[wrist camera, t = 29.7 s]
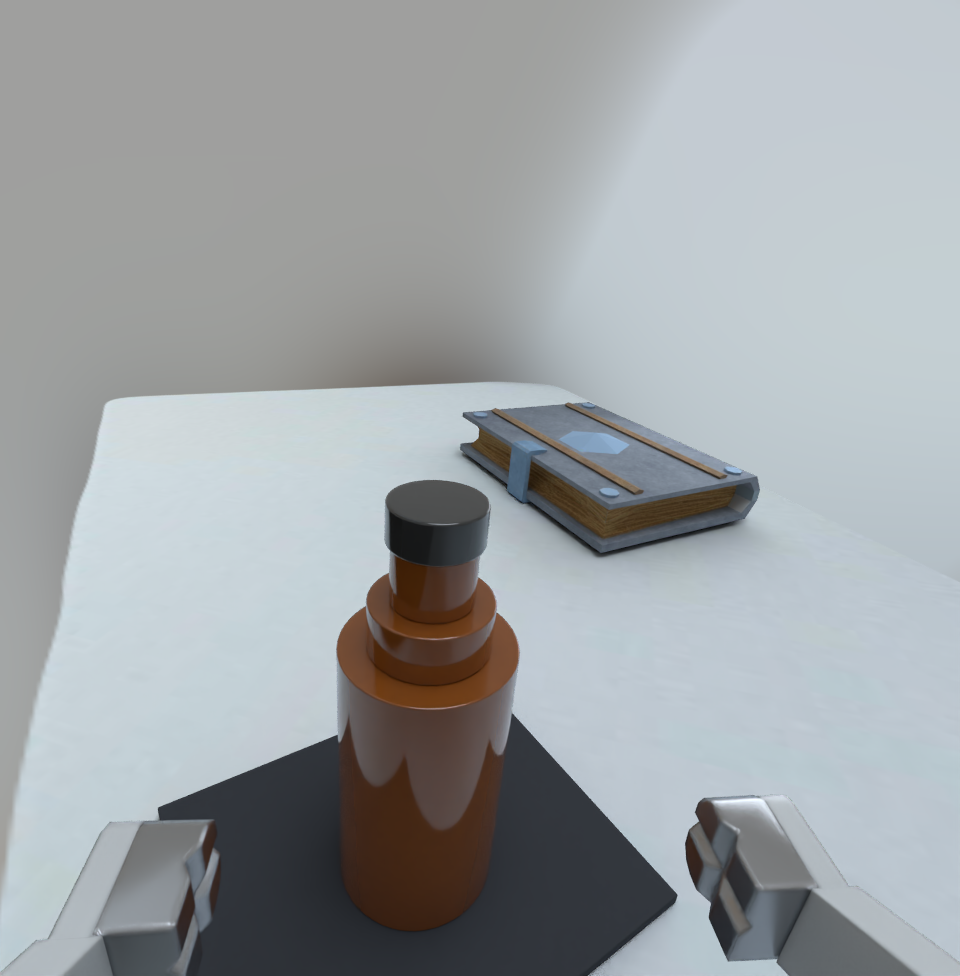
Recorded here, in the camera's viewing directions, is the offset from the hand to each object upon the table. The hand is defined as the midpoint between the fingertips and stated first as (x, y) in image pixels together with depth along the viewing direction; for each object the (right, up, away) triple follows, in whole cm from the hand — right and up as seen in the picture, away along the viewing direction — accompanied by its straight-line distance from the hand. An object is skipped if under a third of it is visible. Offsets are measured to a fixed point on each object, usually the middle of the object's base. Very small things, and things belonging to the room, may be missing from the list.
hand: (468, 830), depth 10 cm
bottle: (-2, -7, +11) cm, 13 cm away
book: (+10, +6, +43) cm, 45 cm away
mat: (-2, -7, +11) cm, 13 cm away
